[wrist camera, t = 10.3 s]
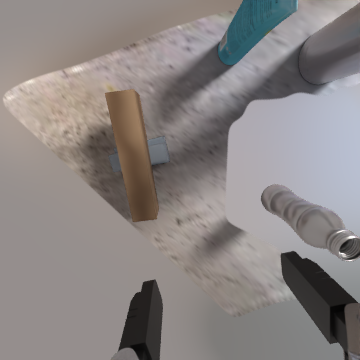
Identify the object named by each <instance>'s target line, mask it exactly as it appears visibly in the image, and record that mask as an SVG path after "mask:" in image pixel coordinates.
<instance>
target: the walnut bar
mask: <svg viewBox="0 0 360 360" xmlns="http://www.w3.org/2000/svg"><path fill="white" fill-rule="evenodd" d="M105 96H106V100H107V105H108V109H109V114H110V119H111V123H112V128H113V132H114V137H115V142H116V146H117V151H118V155H119V160H120V165H121V169H122V174H123V179H124V183H125V188H126V192H127V197H128V202H129V206H130V211H131V215H132V220H133V222H138V221H146V220H154V219H157V215H158V210H159V206H158V200H157V195H156V189H155V183H154V177H153V171H152V165H151V159H150V154H149V148H148V142H147V136H146V130H145V124H144V119H143V113H142V107H141V101H140V95H139V94H138V93H137V92H136V91H135V90H134V89H131V90H124V91H116V92H108V93H105Z"/></svg>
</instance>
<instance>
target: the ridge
mask: <svg viewBox="0 0 360 360" xmlns="http://www.w3.org/2000/svg"><path fill="white" fill-rule="evenodd" d="M147 142H148V148H149V154H150V159H151V165H157V164H161V163H166V162H170V157H169V153H168V149H167V145H166V140H165V136H162V137H158V138H154V139H149V140H147ZM114 151H115V153H114V154H112V155H110V156H108V157H109V160H110V163H111V166H112V169H113V172H117V171H121V173H122V169H121V165H120V160H119V155H118V151H117V147H116V148H114Z"/></svg>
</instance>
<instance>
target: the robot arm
mask: <svg viewBox="0 0 360 360" xmlns="http://www.w3.org/2000/svg"><path fill="white" fill-rule="evenodd" d="M299 69H300V72H301V74H302V76H303V78H304V79H306V80H307V81H308V82H310V83H313V84H323V83H327V82H330V81H333V80H337V79H340V78H344V77H347V76H350V75H353V74H357V73H360V3H359V4H357V5H356V6H354V7H353V8H351V9H350V10H348V11H347V12H345V13H344V14H342V15H341V16H339V17H338V18H336V19H335V20H334V21H332V22H331V23H329V24H328V25H326V26H325V27H323V28H322V29H320V30H319V31H317V32H316V33H314V34H313V35H312V36H310V37H309V38H308V40H307V41H306V42H305V43H304V45H303V47H302V49H301V51H300V55H299ZM281 266H282V275H283V278H284V280H285V282H286V284H287V285H288V287H289V288H290V290H291V291H292V292H293V294H294V295H295V296H296V298H297V299H298V301H299V302H300V303H301V305H302V306H303V308H304V309H305V310H306V312H307V313H308V314H309V316H310V317H311V319H312V320H313V321H314V323H315V324H316V325H317V327H318V328H319V330H320V331H321V332H322V334H323V335H324V336H325V338H326V339H327V341H328V342H329V343H330V344H332V343H337V342H338V343H339V344H340V345H341V346H342V348H343V352H344V353H343V354H344V360H360V303H358V302H357V301H356V300H355V299H354V298H353V297H352V296H351V295H349V294H348V293H347V292H346V291H345V290H344V289H343V288H342V287H341V286H340V285H339V284H338V283H337V282H336V281H335V280H334V279H332V278H331V277H330V276H329V275H328V274H327V273H326V272H324V270H323V269H322V268H321V267H320V266H319V265H318V264H317V263H314V262H313V261H311V260H309V259H307V258H305V259H302V258H301V257H300V256H299V255H298V254H297V253H296V252H294V251H291V252H287V253H282V254H281ZM162 312H163V304H162V298H161V295H160V292H159V288H158V285H157V282H156V280H150V281H145V282H143V285H142V290H141V292H138V293H136V294H135V295H134V297H133V299H132V300H131V303H130V307H129V312H128V315H127V319H126V322H125V327H124V331H123V334H122V338H121V343H120V347H119V350H118V352H117V353H116V354H115V355H114V356H113V357H112V359H111V360H160V344H161V326H162Z"/></svg>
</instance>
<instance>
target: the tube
mask: <svg viewBox="0 0 360 360" xmlns="http://www.w3.org/2000/svg"><path fill="white" fill-rule="evenodd" d="M297 8H298V0H243V2H242V4H241V5H240V7H239V9H238V11H237V13H236V15H235V16H234V18H233V20H232V22H231V24H230V25H229V27H228V29H227V31H226V33H225V34H224V36H223V38H222V40H221V42H220V44H219V47H218V55H219V58H220V60H221V61H222V62H223V63H224V64H227V65H234V64H236V63H237V62H239V61H240V60H241V59H242V58H243V57H244V56H245V55H246V54H247V53H248V52H249V51H250V50H251V49H252V48H253V47H254V46H255V45H256V44H257V43H258V42H259V41H260V40H261V39H262V38H263V37H264V36H266V35H267V34H268V33H269V32H270V31H271V30H272V29H273V28H275V27H276V26H277V25H278V24H279V23H281V22H282V21H283V20H285V19H286V18H287V17H289V16H290V15H291V14H292V13H294V12H296V11H297Z"/></svg>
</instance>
